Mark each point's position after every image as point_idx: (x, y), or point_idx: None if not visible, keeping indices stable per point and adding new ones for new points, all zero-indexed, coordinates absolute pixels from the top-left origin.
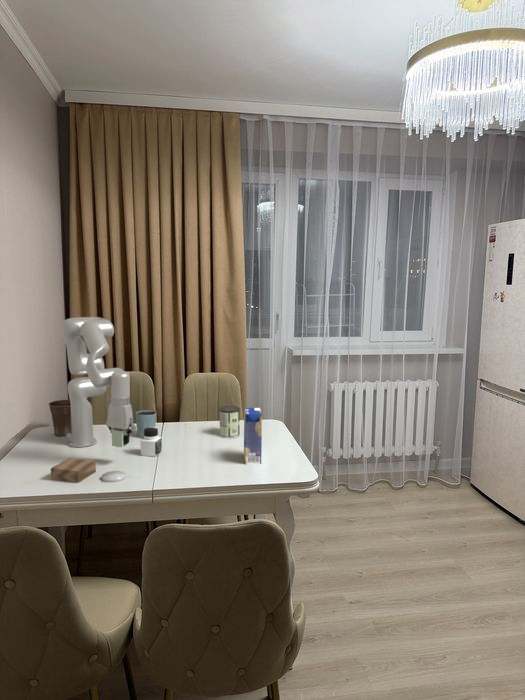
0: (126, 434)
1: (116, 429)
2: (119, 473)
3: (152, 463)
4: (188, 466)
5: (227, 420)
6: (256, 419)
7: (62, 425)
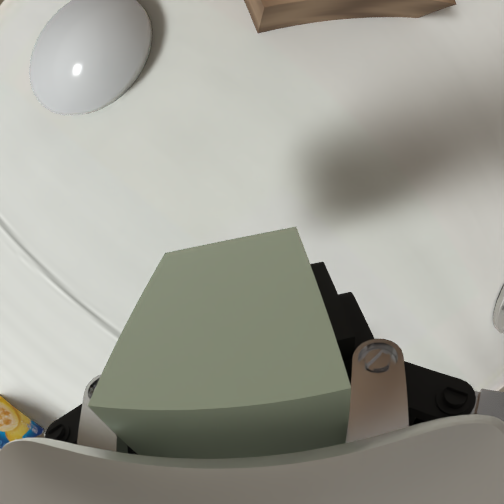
0: (93, 390)
1: (275, 435)
2: (70, 84)
3: (113, 312)
4: (22, 344)
5: None
6: None
7: None
